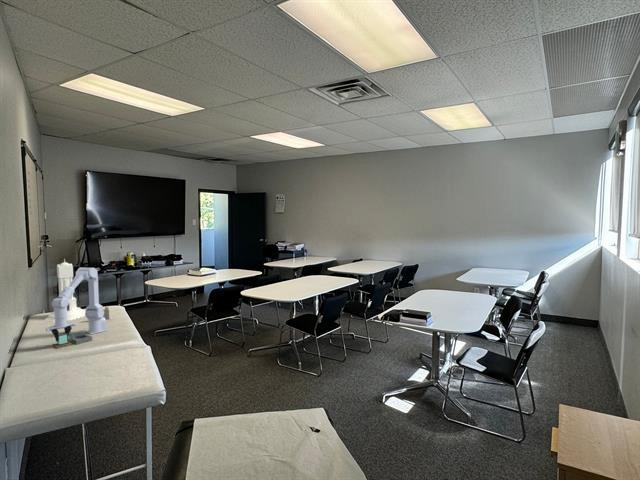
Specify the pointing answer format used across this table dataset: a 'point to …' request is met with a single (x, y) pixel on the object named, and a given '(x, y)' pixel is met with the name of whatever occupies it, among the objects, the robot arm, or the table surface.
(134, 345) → the table surface
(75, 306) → the white castle tower
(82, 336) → the port
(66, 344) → the brown square frame
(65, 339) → the plug
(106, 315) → the ruin model on sheet
